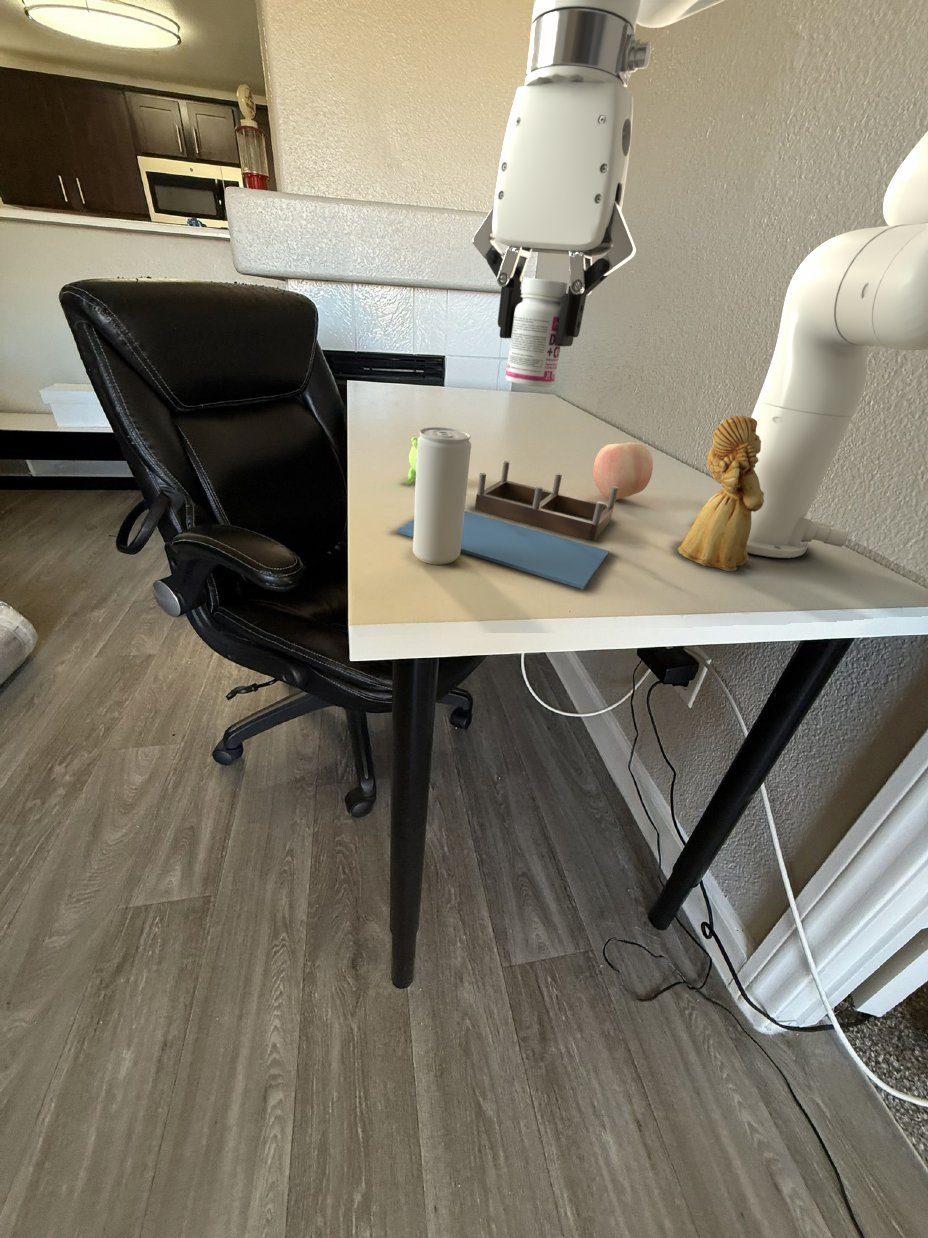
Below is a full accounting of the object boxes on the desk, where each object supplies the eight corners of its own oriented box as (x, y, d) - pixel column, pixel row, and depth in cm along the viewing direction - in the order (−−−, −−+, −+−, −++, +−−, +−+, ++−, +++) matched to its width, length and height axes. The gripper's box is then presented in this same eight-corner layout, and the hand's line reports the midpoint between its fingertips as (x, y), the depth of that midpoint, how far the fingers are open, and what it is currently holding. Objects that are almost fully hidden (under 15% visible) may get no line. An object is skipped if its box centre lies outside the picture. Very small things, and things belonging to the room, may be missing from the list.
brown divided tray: (610, 521, 66) (619, 486, 64) (593, 541, 60) (603, 504, 57) (500, 493, 71) (504, 460, 69) (474, 509, 65) (478, 473, 63)
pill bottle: (552, 389, 48) (571, 281, 44) (501, 382, 49) (515, 275, 44) (555, 383, 52) (572, 284, 48) (508, 377, 53) (521, 278, 48)
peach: (636, 493, 78) (652, 438, 73) (649, 511, 71) (666, 451, 67) (584, 487, 78) (596, 432, 73) (591, 504, 71) (605, 444, 67)
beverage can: (417, 567, 50) (424, 439, 43) (408, 546, 54) (413, 425, 47) (465, 565, 51) (478, 440, 45) (453, 545, 55) (463, 427, 49)
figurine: (756, 575, 56) (820, 431, 48) (685, 566, 56) (736, 421, 48) (731, 546, 63) (783, 415, 55) (667, 538, 63) (710, 407, 55)
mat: (608, 554, 57) (609, 550, 57) (583, 589, 49) (584, 585, 49) (442, 508, 64) (442, 505, 64) (397, 532, 56) (397, 529, 56)
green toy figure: (405, 484, 71) (407, 441, 68) (406, 472, 75) (408, 432, 72) (450, 488, 71) (454, 445, 68) (449, 476, 76) (452, 435, 73)
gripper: (699, 82, 39) (634, 353, 48) (495, 90, 45) (473, 330, 54) (687, 38, 33) (615, 355, 43) (454, 54, 39) (437, 330, 49)
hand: (536, 339), depth 48 cm, fingers closed on pill bottle, 4 cm apart
